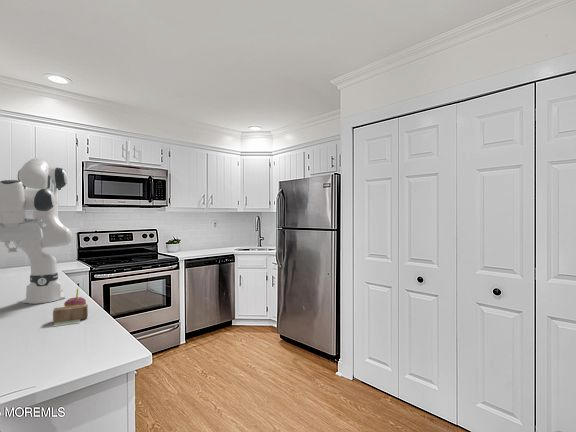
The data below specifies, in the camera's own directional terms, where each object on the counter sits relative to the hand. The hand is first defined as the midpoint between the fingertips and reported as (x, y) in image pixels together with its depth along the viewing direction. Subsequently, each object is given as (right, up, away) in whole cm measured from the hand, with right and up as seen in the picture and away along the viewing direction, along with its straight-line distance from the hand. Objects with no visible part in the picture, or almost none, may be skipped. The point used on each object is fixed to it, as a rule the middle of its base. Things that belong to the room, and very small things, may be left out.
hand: (13, 252), depth 137 cm
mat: (+20, -30, +4) cm, 36 cm away
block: (+16, -27, +2) cm, 31 cm away
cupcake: (+17, -30, +14) cm, 37 cm away
